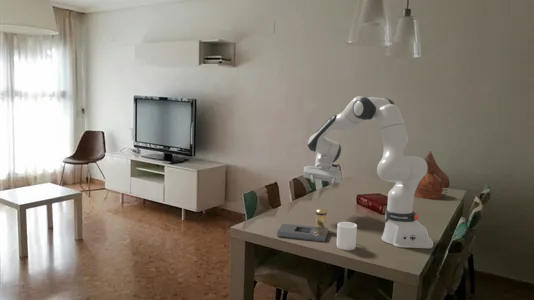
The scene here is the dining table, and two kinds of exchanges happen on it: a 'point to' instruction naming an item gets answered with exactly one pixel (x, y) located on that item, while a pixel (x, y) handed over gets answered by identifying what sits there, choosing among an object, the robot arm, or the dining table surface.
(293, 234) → the grey recessed slab
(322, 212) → the gold cylinder
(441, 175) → the decorative ornament
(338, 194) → the dining table surface
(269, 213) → the dining table surface
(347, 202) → the dining table surface
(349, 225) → the cup
